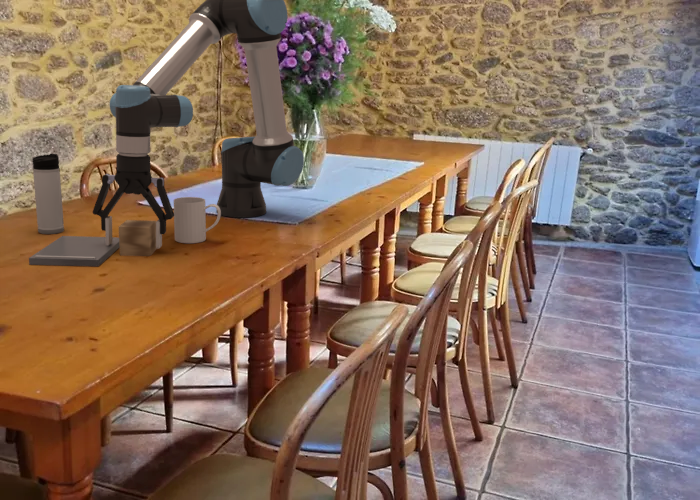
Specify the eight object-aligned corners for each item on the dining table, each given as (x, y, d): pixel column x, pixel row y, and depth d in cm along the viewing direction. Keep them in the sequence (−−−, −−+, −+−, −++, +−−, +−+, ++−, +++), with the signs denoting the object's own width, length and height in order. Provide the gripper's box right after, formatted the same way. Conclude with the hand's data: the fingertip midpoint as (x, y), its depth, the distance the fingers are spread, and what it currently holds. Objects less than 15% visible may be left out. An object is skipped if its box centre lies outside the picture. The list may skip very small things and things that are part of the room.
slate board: (123, 243, 171) (123, 236, 170) (98, 266, 151) (97, 259, 151) (62, 241, 170) (62, 235, 169) (29, 264, 151) (28, 257, 150)
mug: (169, 242, 174) (168, 201, 171) (182, 235, 181) (181, 196, 178) (214, 246, 171) (214, 205, 169) (226, 239, 179) (225, 199, 176)
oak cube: (157, 248, 168) (156, 220, 166) (150, 256, 161) (148, 227, 159) (128, 247, 167) (126, 219, 165) (119, 255, 161) (118, 226, 159)
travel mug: (70, 230, 181) (65, 154, 176) (52, 235, 175) (46, 157, 170) (51, 227, 183) (45, 152, 178) (32, 232, 177) (26, 155, 172)
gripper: (187, 155, 162) (186, 244, 168) (87, 148, 161) (89, 238, 166) (181, 159, 155) (180, 252, 160) (75, 152, 154) (78, 246, 159)
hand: (134, 245), depth 163 cm, fingers open, 11 cm apart
